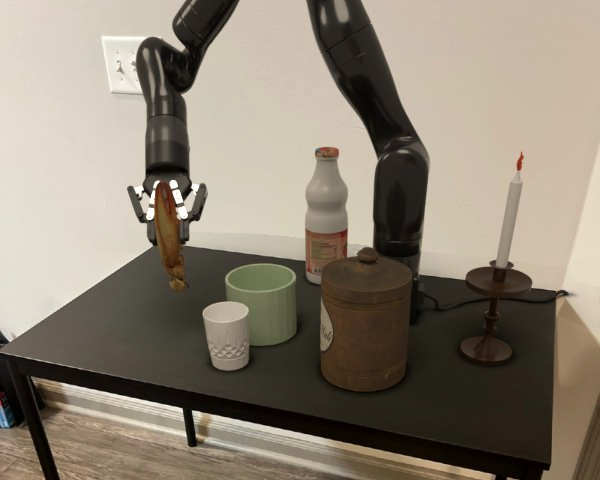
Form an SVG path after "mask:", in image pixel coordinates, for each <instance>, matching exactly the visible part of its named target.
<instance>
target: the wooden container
mask: <svg viewBox="0 0 600 480" xmlns="http://www.w3.org/2000/svg"><path fill="white" fill-rule="evenodd" d="M411 290H412V272H411V270H410V269H409V268H408V267H407V266H406V265H404V264H402V263H400V262H398V261H395V260H392V259H388V258H383V257H379V254H378V252H377V251H376V250H374V249H373V247H370V246H365V247H364V246H363V247H362V248H361V249H360V250H358V251H357V254H356V255H355V256H354V255H353V256H347V257H346V258H341V259H338V260H335V261H332V262H330V263H328V264H327V265H326V266H325V267H324V268H323V269H322V272H321V285H320V325H319V326H320V334H319V335H320V337H319V339H320V372H321V374H322V376H323V377H324V379H325V380H327V382H329V383H330V384H331V385H334V386H336V387H338V388H340V389H344V390H347V391H352V392H359V393H360V392H363V393H367V392H376V391H383V390H386V389H389V388H392V387H394V386H395V385H396V384H399V382H400V381H402V380H403V378H404V377H405V374H406V368H407V357H408V347H409V332H410V330H409V329H410V323H409V316H410V300H411Z"/></svg>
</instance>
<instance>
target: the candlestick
mask: <svg viewBox="0 0 600 480" xmlns="http://www.w3.org/2000/svg"><path fill="white" fill-rule="evenodd" d="M524 158H525V156H524V154H523V151H522V150H521V151H520V156H519V158H518V159H517V161H516V173H515V175H514V178H513V179H512V180H510V182H509V187H508V192H507V198H506V204H505V209H504V213H503V214H504V215H503V220H502V225H501V232H500V238H499V243H498V248H497V254H496V259H493V260H490V261H489V263H488V264H489V266H480V267H475V268H472V269H471V270H469V271H467V272H466V274H465V277H464V278H465V280H464V284H465V286H466V288H468V289H469V290H470V291H471V292H474V293H476V294H478V295H480V296H488V297H491V299H490V303H489V308H488V310H486V311H485V312H484V313H483V318H484V320H485V324H483V325H482V330H483V331H484V335H483V336H481V335H479V336H471V337H468V338H465V339H464V340H463V341H461V343H460V347H459V353H460V355H461V357H462V358H464V359H465V360H467V361H468V362H470V363H473V364H477V365H481V366H491V367H493V366H500V365H503V364H506V363H508V362H509V361H510V360H511V358H512V354H513V349H512V347H511V345H509V344H508V343H507V342H505V341H503V340H501V339H499V338H495V337H493V334H494V332H496V331H498V327H497V326H496V323H497V322H498V321H499V320H500V319H501V313H499V312H498V307H499V303H500V299H508V298H516V297H525V296H526V295H527V294H529V293H530V292H531V290H532V288H533V280H532V278H531V276H530V275H528V274H526V273H525V272H523V271H520V270H518V269H514V267H515V264H514V263H513V262H512V261H510V260H509V259H510V254H511V253H510V252H511V248H512V242H513V237H514V232H515V227H516V221H517V217H518V211H519V205H520V200H521V196H522V190H523V184H524V181H523V180H521V170H522V167H523V160H524Z"/></svg>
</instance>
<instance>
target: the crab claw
mask: <svg viewBox="0 0 600 480" xmlns="http://www.w3.org/2000/svg"><path fill="white" fill-rule="evenodd" d="M162 186H163V188H164V190H165V199H166V203H165V199H164V194H163V191H162ZM178 215H179V212H178V211H177V208H176V207H175V203H174V198H173V195H172V191H171V189H170V187H169V185H168V184H167V183H166V182H162V181H160V182H159V183H158V184H157V185H156V189H155V197H154V219H155V227H156V239H157V250H158V253H159V255H160V258H161V263H162V266H163V268H164V269H165V271H166V273H167V275H169V276H170V278H169V287H170V288H171V290H173V291H175V292H177V293H182V292H183V291H184V290H185V287H186V286H187V289H190V285H189V283H188V282H186V280H185V279H184V278H185V276H186V274H185V271H186V270H187V267H185V258H184V255H183V254H181V251H182V250H184V247H183V245H181V242H180V230H179V220H180V219H179V218H178Z"/></svg>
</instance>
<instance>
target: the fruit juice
mask: <svg viewBox="0 0 600 480" xmlns="http://www.w3.org/2000/svg"><path fill="white" fill-rule="evenodd" d="M339 158H340V150H339V148H337V147H333V146H321V147H317V148H315V150H314V159H315V160H316V162H315V168H314V171H313V174H312V177H311V178H310V180H309V182H308V183H307V185H306V187H305V195H304V196H305V202H306V205H307V209H306V211H305V214H304V215H305V217H304V235H305V236H304V240H305V241H304V242H305V244H304V249H305V250H304V251H305V276H306V280H307V281H309V282H310V283H312V284H314V285H320V286H321V272H322V269H323V268H324V267H325V266H326V265H327V264H328V263H330V262H332V261H335V260H338V259H341V258H346V257H348V244H349V243H348V241H349V240H348V239H349V238H348V237H349V215H348V211H347V207H346V205H347V202H348V199H349V189H348V185H347V184H346V182H345V181H344V180H343V178H342V176H341V173H340V169H339V165H338V163H339V162H338V159H339Z"/></svg>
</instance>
